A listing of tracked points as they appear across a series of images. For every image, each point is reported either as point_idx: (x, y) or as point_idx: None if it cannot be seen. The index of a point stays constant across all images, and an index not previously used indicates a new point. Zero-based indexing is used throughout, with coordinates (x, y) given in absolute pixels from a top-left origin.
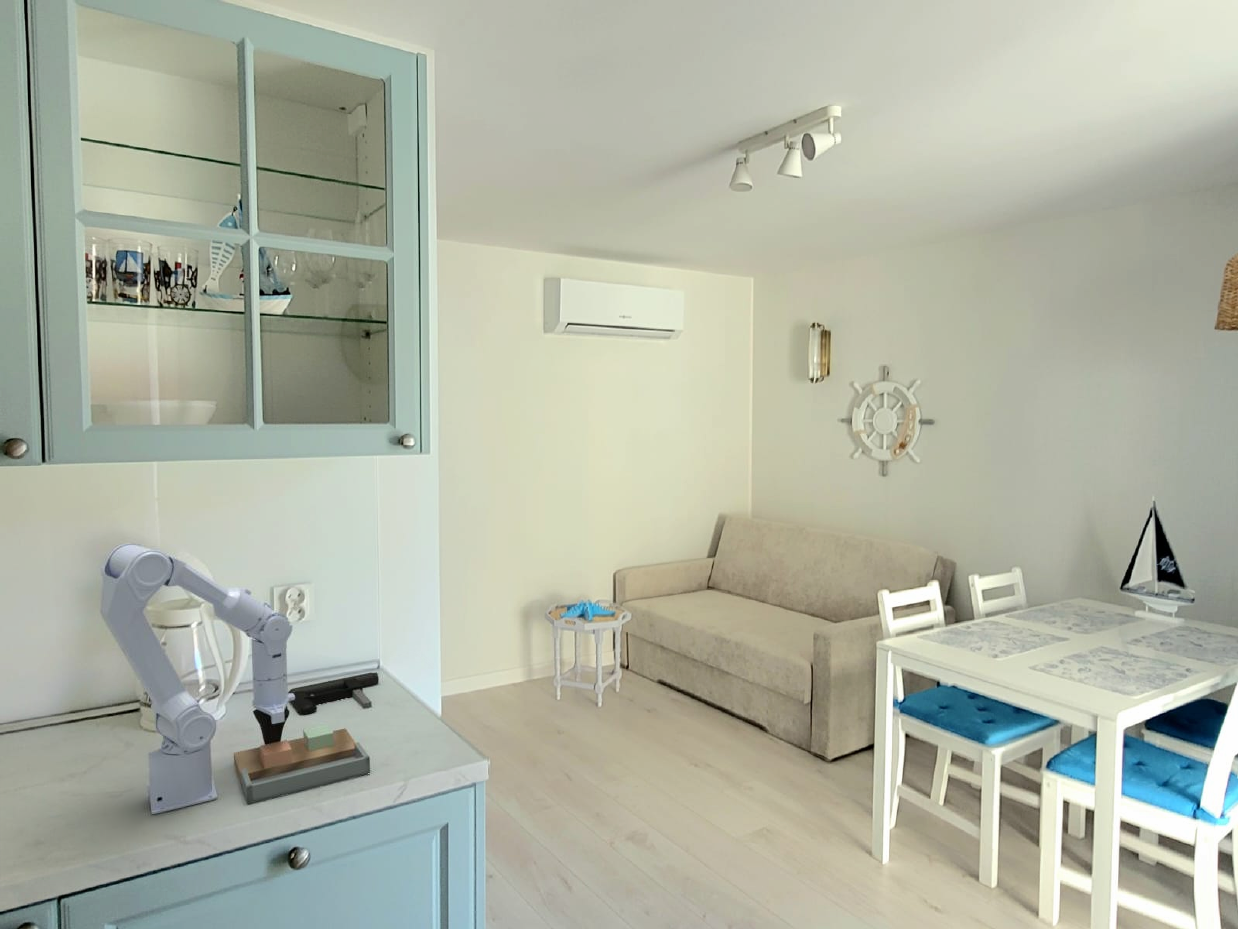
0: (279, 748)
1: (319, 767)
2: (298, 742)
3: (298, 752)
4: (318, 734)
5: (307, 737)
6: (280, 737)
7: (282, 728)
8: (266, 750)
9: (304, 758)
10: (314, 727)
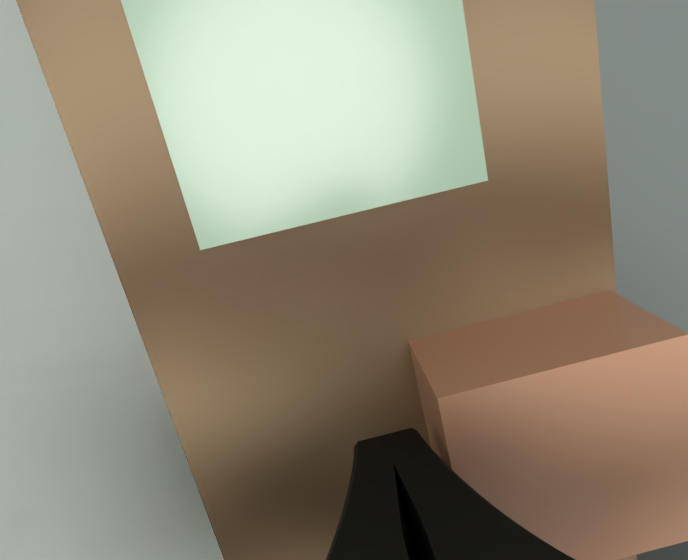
0: (616, 441)
1: (618, 70)
2: (210, 265)
3: (430, 252)
4: (416, 56)
5: (441, 190)
6: (457, 475)
7: (529, 533)
8: (604, 536)
9: (576, 196)
10: (168, 113)
